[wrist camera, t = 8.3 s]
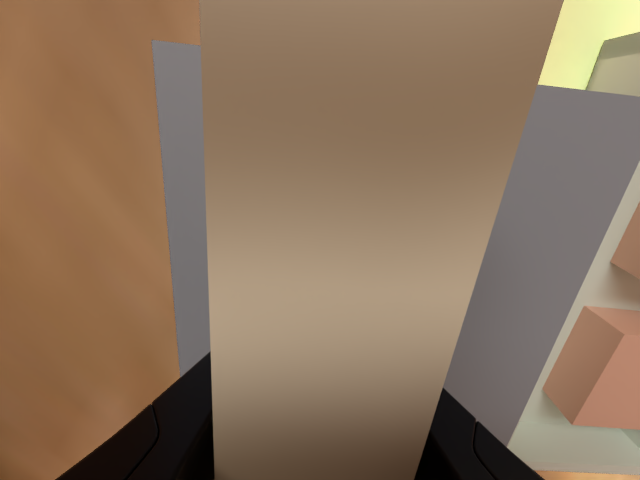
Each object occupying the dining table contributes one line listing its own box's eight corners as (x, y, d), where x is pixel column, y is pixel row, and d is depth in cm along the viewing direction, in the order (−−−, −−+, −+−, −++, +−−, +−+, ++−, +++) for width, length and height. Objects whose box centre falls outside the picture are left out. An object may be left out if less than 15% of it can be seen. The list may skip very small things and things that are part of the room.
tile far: (571, 424, 14) (541, 388, 16) (674, 432, 15) (633, 396, 16) (624, 334, 12) (584, 305, 14) (741, 345, 13) (686, 315, 15)
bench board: (463, 392, 17) (500, 461, 13) (212, 377, 16) (186, 445, 13) (567, 103, 11) (667, 99, 8) (200, 62, 11) (151, 39, 7)
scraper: (335, 473, 12) (347, 691, 8) (258, 469, 12) (221, 689, 7) (407, 67, 7) (569, -22, 3) (274, 52, 7) (196, -71, 2)
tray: (617, 428, 18) (663, 475, 16) (462, 420, 17) (485, 467, 15) (845, 70, 11) (984, 60, 9) (604, 40, 11) (684, 20, 8)
